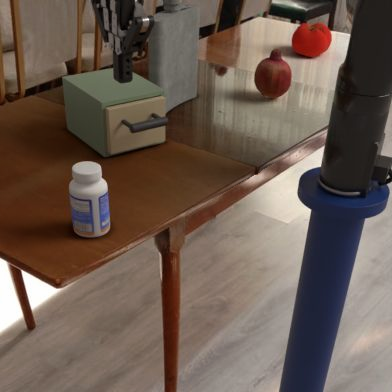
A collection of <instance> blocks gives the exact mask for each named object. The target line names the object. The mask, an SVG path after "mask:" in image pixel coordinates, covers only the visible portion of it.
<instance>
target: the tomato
mask: <svg viewBox="0 0 392 392" xmlns="http://www.w3.org/2000/svg"><path fill="white" fill-rule="evenodd" d="M332 40H333V36H332V32H331V30H330V28H329V27H327V25H326V24H324V23H323V22H316V23H314V24H311V25H310V24H309V23H305V22H302V23H301V24H299V25H298V26H297V28H296V29H295V30H294V31H293V33H292V37H291V47H292V50H293V51H294V52H295V53H297V54H298V55H301V56H305V57H311V58H312V57H313V58H314V57H317V56H320V55H321V54H323V53H325V52H327V51H328V50H329V48H330V46H331V44H332Z"/></svg>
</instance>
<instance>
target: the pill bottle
mask: <svg viewBox="0 0 392 392" xmlns="http://www.w3.org/2000/svg"><path fill="white" fill-rule="evenodd" d="M102 176H103V171H102V166H101V165H100V164H99V163H98V162H94V161H91V160H89V161H85V160H84V161H79V162H76V163H75V164H73V165H72V167H71V177H72V180H71V181H70V182H69V185H68V193H69V203H70V212H71V220H72V228H73V231H74V233H75V234H76V235H78V236H80V237H83V238H90V239H91V238H98V237H99V238H100V237H102V236H104V235H106V234H107V233H108V232H109V231H110V229H111V218H110V217H111V215H110V203H109V188H108V183H107V181H106V179H104V178H103V177H102Z"/></svg>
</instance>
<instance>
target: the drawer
mask: <svg viewBox="0 0 392 392" xmlns="http://www.w3.org/2000/svg"><path fill="white" fill-rule="evenodd" d="M165 102H166V98H165V97H163V96H158V97H149V98H144V99H139V100H135V101H130V102H125V103H120V104H115V105H111V106H106V108H105V113H106V131H107V148H108V152H109V153H110V154H114V153H118V152H122V151H126V150H130V149H134V148H138V147H142V146H146V145H150V144H154V143H158V142H162V141H164V142H166V126H168V125H169V118H168V117H167V116H166V114H165Z"/></svg>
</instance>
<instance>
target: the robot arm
mask: <svg viewBox="0 0 392 392" xmlns="http://www.w3.org/2000/svg"><path fill="white" fill-rule="evenodd" d="M90 4H91V6H92V10H93V13H94V15H95V18H96V21H97V24H98V28H99V32H100V34H101V37H102V40H103V43H105V44H106V43H108V47H109V48H108V49H109V50H110V52H112V68H113V77H114V80H116V81H117V82H119V83H121V84H122V83H128V82H131V81H132V79H133V72H134V71H133V70H134V69H133V67H134V66H133V65H134V64H133V63H134V62H133V55H134V54H135V53H138V52H142V51H143V49H144V47H145V46H146V44H147V42H148V37H149V35H150V32H151V30H152V28H153V26H154V24H155V20H154V17H153V14H149V15H147V14H146V11H145V9H144V4H145V0H90ZM345 10H346V16H347V18H348V22H349V23H350V25H351V30H350V35H349V40H348V45H347V50H346V54H345V58H344V61H343V62H342V63H341V64H340V65H339V67H338V69H337V76H336V81H335V86H334V92H333V98H332V103H331V108H330V115H329V121H328V124H327V125H328V126H327V131H326V137H325V141H324V142H325V143H324V148H323V152H322V158H321V165H320V167H321V169H320V173H319V177H318V185H319V187H320V188H321V189H322V190H323V191H325V192H327V193H329V194H332V195H335V196H339V197H345V198H357V197H360V198H366V197H367V196H368V194H369V192H370V191H371V188H372V186H373V184H374V181H377V182H378V185H379V186H382V185H386V184H387V185H389V184H391V183H392V156H387V155H383V154H382V151H383V147H384V143H385V140H386V139H385V138H386V132H385V130H386V126H387V122H388V119H389V118H388V117H389V115H390V110H391V105H392V0H345Z"/></svg>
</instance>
